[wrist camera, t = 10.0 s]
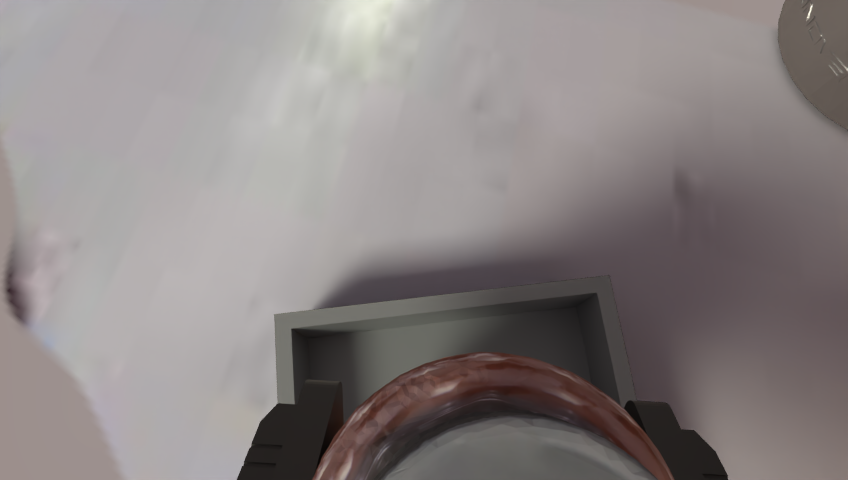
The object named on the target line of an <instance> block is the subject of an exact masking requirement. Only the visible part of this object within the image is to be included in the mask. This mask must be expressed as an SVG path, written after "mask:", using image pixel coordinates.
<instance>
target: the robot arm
mask: <svg viewBox="0 0 848 480" xmlns="http://www.w3.org/2000/svg"><path fill="white" fill-rule="evenodd" d="M778 42H779V46H780V50H781V54H782V59H783V61H784V63H785V66H786V68H787V70H788V72H789V74H790V76H791V78H792V80H793V81H794V83H795V84H796V85H797V87H798V88H799V89H800V90H801V92H802V93H803V94H804V96H805V97H806V98H807V99H808V100H809V101H810V102H811V103H812V104H813V105H814V106H815V107H816V108H817V109H819V110H820V111H821V112H822V113H823V114H824V115H825V116H827V117H828V118H830V119H831V120H833V121H834V122H836V123H837V124H839V125H840V126H842V127H844V128H845V129H847V130H848V0H786V1H785V2H784V4H783V8H782V11H781V15H780V18H779V22H778ZM624 409H625V410H626V411H627V412H628V414H629V415H630V416H631V417H632V418H633V419H634V420H635V421H636V422H637V424H638V425H639V426H640V427H641V428H642V429H643V431H644V432H645V433H646V434H647V435H648V437H649V438H650V440H651V441H652V442H653V444H654V445H655V446H656V448H657V449H658V450H659V452H660V454H661V456H662V457H663V459H664V461H665V463H666V464H667V466H668V468H669V470H670V472H671V474H672V476H673V478H674V480H728V475H727V473H726V471H725V469H724V467H723V465H722V463H721V462H720V460H719V458H718V456H717V454H716V452H715V451H714V450H713V449H712V448H711V447H710V446H709V445H708V444H707V443H706V442H705V441H704V440H703V439H702V438H701V437H700V436H699V435H698V434H697V433H696V432H695V431H694V430H681V428H680V426H679V424H678V422H677V420H676V418H675V416H674V414H673V412H672V409H671V408H670V406H669V405H668V404H667V403H665V402H650V401H634V400H629V401H627V403H626V404H625V407H624ZM343 425H344V417H343V391H342V383H341V382H340V381H325V380H309V379H307V380H306V381H305V382H304V385H303V388H302V390H301V393H300V396H299V399H298V402H297V404H282V403H278V404H277V405H276V406H275V407H274V408H273V409H272V410H271V411H270V412H269V413H268V414H267V415H266V416H265V417H264V418H263V419H262V421H261V422H260V424H259V427H258V429H257V431H256V434H255V436H254V439H253V441H252V446H251V448H250V449H249V451H248V454H247V456H246V458H245V461H244V466H242V468H241V471H240V473H239V476H238V478H237V480H312V479H313V477H314V475H315V472H316V470H317V468H318V466H319V464H320V462H321V458H322V456H323V455H324V453H325V452H326V450H327V448H328V447H329V445H330V443H331V441H332V439H333V438H334V436H335V435H336V433H337V432H338V431H339V430H340V429H341V427H342V426H343Z"/></svg>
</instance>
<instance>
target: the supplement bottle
mask: <svg viewBox="0 0 848 480" xmlns="http://www.w3.org/2000/svg"><path fill="white" fill-rule="evenodd" d="M312 480H674V478H673V476H672V474H671V472H670V470H669V468H668V466H667V464H666V463H665V461H664V459H663V457H662V456H661V454H660V452H659V450H658V449H657V448H656V446H655V445H654V444H653V442H652V441H651V440H650V438H649V437H648V435H647V434H646V433H645V432H644V431H643V429H642V428H641V427H640V426H639V425H638V424H637V422H636V421H635V420H634V419H633V418H632V417H631V416H630V415H629V414H628V412H627V411H626V410H625V409H624V408H622V407H621V406H620V405H619V404H618V403H617V402H616V401H615V400H614V399H612V398H611V397H610V396H608V395H607V394H605V393H604V392H602V391H601V390H600V389H599V388H597V387H596V386H594V385H593V384H591V383H590V382H588V381H587V380H585V379H583V378H581V377H580V376H578V375H576V374H574V373H573V372H571V371H568V370H565V369H563V368H561V367H559V366H555V365H552V364H549V363H546V362H543V361H540V360H538V359H534V358H531V357H526V356H519V355H513V354H506V353H499V352H474V353H467V354H460V355H455V356H450V357H446V358H442V359H438V360H435V361H432V362H429V363H425V364H423V365H421V366H418V367H416V368H414V369H412V370H410V371H408V372H405V373H403V374H401V375H399V376H398V377H396V378H395V379H393V380H392V381H391V382H389V383H388V384H386V385H385V386H383V387H382V388H381V389H379V390H378V391H376V392H375V393H374V394H372V395H371V396H370V397H369V398H368V399H367V400H365V401H364V402H363V403H362V404H361V405H359V406H358V407H357V408H356V409H355V411H354V412H353V413H352V414H351V416H350V417H349V418H348V420H347V421H346V422H345V424H344V425H343V426H342V427H341V429H340V430H339V431H338V432H337V433H336V435H335V436H334V438H333V439H332V441H331V443H330V445H329V447H328V448H327V450H326V452H325V453H324V455H323V456H322V458H321V462H320V464H319V466H318V468H317V470H316V472H315V475H314V477H313V479H312Z"/></svg>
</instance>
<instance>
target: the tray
mask: <svg viewBox="0 0 848 480" xmlns="http://www.w3.org/2000/svg"><path fill="white" fill-rule="evenodd" d="M274 319H275V345H276V372H277V398H278V403H282V404H297V402H298V399H299V396H300V393H301V390H302V388H303V385H304V382H305V381H306V380H307V379H309V380H325V381H340V382H341V383H342V391H343V417H344V424H345V422H346V421H347V420H348V418H349V417H350V416H351V414H352V413H353V412H354V411H355V409H356V408H357V407H358V406H359V405H361V404H362V403H363V402H364V401H365V400H367V399H368V398H369V397H370V396H371V395H372V394H374V393H375V392H376V391H378V390H379V389H381V388H382V387H383V386H385V385H386V384H388V383H389V382H391V381H392V380H393V379H395V378H396V377H398V376H399V375H401V374H403V373H405V372H408V371H410V370H412V369H414V368H416V367H418V366H421V365H423V364H425V363H429V362H432V361H435V360H438V359H442V358H446V357H450V356H455V355H460V354H467V353H474V352H499V353H506V354H513V355H519V356H526V357H531V358H534V359H538V360H540V361H543V362H546V363H549V364H552V365H555V366H559V367H561V368H563V369H565V370H568V371H571V372H573V373H574V374H576V375H578V376H580V377H581V378H583V379H585V380H587V381H588V382H590V383H591V384H593V385H594V386H596V387H597V388H599V389H600V390H601V391H602V392H604V393H605V394H607V395H608V396H610V397H611V398H612V399H614V400H615V401H616V402H617V403H618V404H619V405H620V406H621V407H622V408H624V407H625V404H626V403H627V401H629V400H634V401H637V398H636V394H635V389H634V385H633V380H632V376H631V371H630V367H629V362H628V358H627V353H626V348H625V344H624V339H623V335H622V330H621V326H620V321H619V317H618V312H617V308H616V303H615V299H614V294H613V289H612V285H611V280H610V276H609V275H607V276H598V277H589V278H581V279H572V280H564V281H555V282H547V283H538V284H530V285H521V286H513V287H504V288H495V289H487V290H478V291H470V292H461V293H453V294H444V295H436V296H427V297H419V298H410V299H401V300H393V301H384V302H376V303H367V304H359V305H350V306H342V307H333V308H325V309H316V310H307V311H299V312H290V313H282V314H274Z"/></svg>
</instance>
